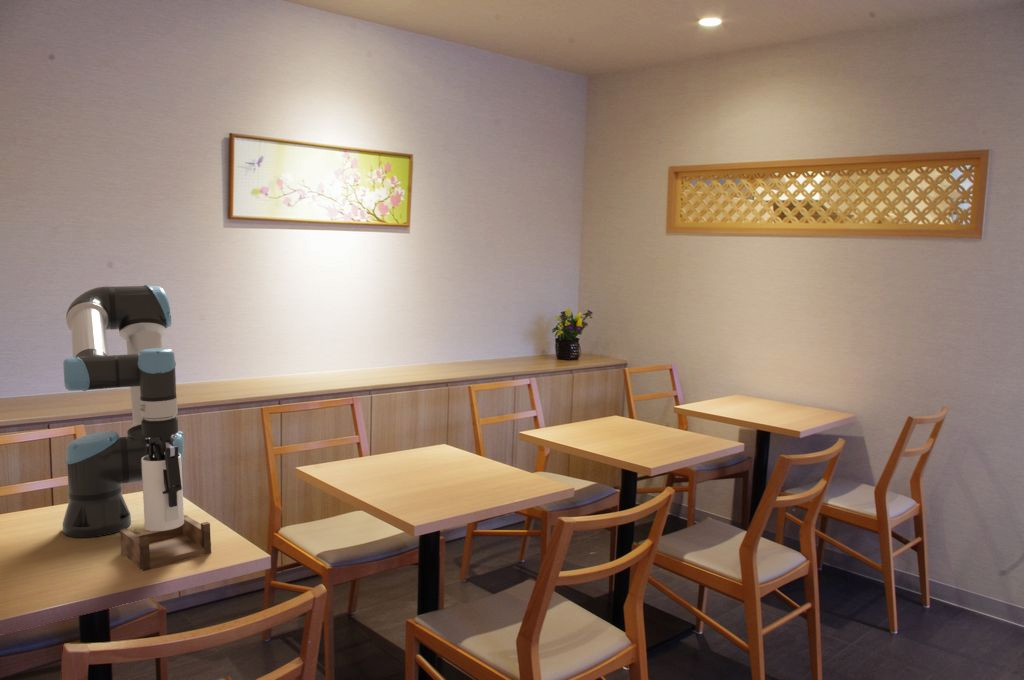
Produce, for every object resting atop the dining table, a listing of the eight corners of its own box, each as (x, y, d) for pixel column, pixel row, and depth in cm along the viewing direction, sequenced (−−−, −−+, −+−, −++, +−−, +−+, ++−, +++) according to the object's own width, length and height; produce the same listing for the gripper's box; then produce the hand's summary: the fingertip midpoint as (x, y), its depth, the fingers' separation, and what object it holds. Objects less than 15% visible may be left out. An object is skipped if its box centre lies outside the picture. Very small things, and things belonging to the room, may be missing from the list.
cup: (159, 533, 176) (155, 463, 174) (137, 527, 180) (133, 458, 178) (191, 523, 183) (188, 455, 181) (169, 516, 187) (166, 450, 185)
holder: (121, 553, 182) (119, 523, 181) (186, 536, 192) (185, 508, 192) (143, 570, 172) (141, 539, 171) (211, 552, 182) (209, 523, 182)
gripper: (125, 412, 184) (131, 508, 186) (159, 427, 169) (165, 530, 171) (159, 408, 189) (163, 501, 191) (195, 422, 174) (199, 522, 176)
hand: (164, 515), depth 181 cm, fingers closed on cup, 8 cm apart
